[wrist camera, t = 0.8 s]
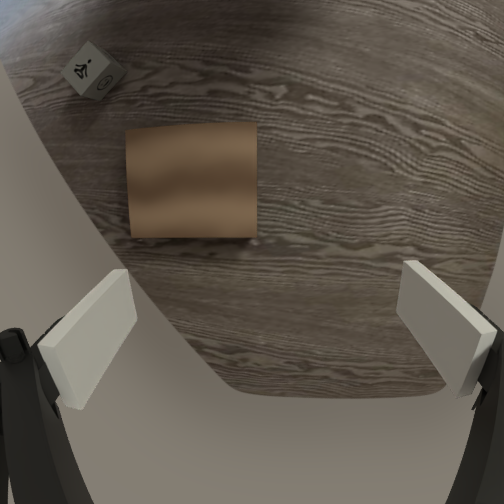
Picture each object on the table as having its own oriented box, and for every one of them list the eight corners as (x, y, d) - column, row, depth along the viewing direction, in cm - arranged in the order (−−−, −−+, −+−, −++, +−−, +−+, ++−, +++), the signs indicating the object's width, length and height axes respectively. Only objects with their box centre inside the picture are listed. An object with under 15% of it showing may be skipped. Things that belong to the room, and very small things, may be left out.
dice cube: (80, 79, 31) (60, 72, 27) (106, 50, 30) (88, 40, 25) (100, 101, 32) (80, 96, 28) (127, 71, 31) (110, 62, 27)
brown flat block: (138, 132, 34) (125, 130, 30) (256, 125, 33) (256, 122, 30) (143, 229, 37) (131, 238, 33) (257, 228, 37) (256, 237, 33)
